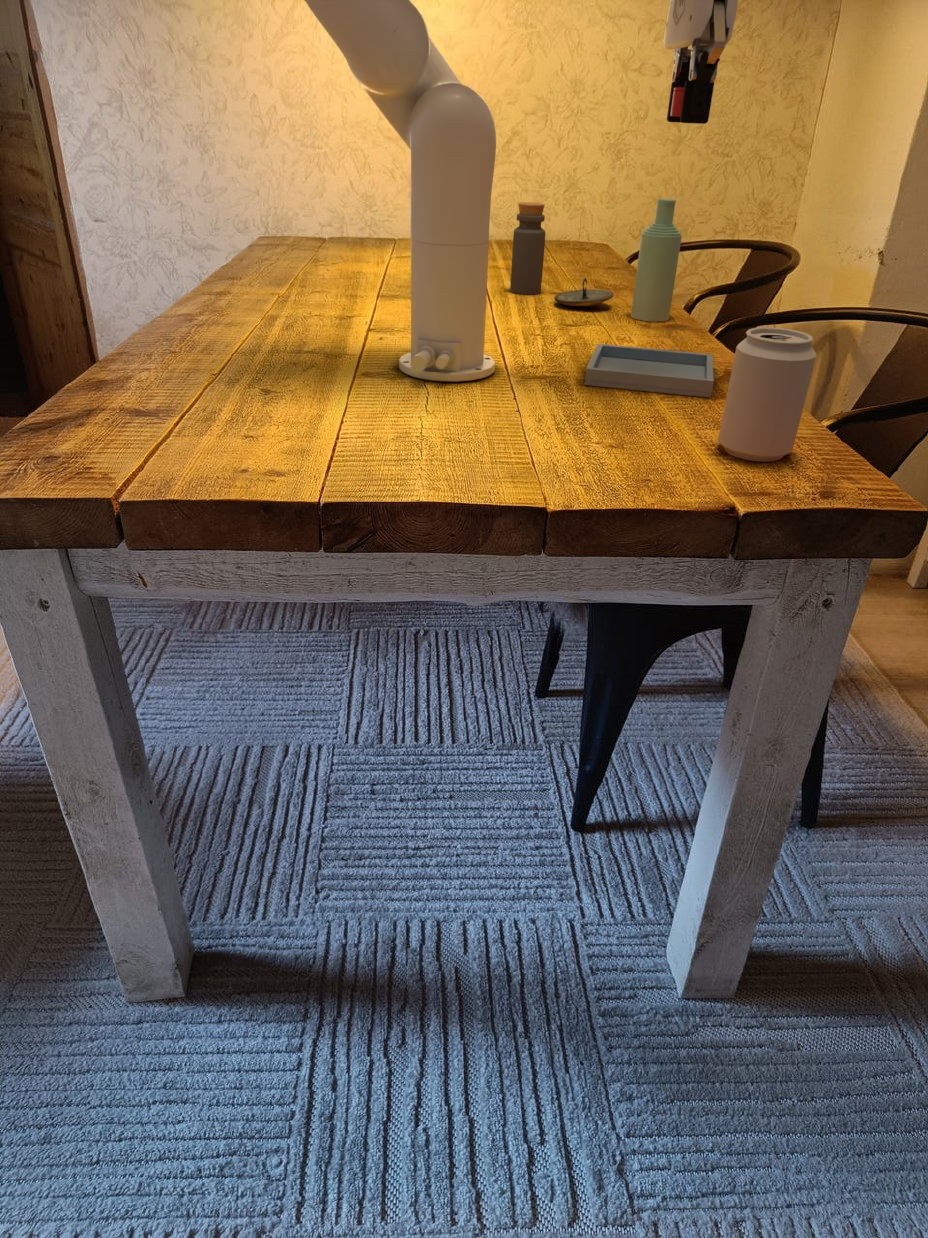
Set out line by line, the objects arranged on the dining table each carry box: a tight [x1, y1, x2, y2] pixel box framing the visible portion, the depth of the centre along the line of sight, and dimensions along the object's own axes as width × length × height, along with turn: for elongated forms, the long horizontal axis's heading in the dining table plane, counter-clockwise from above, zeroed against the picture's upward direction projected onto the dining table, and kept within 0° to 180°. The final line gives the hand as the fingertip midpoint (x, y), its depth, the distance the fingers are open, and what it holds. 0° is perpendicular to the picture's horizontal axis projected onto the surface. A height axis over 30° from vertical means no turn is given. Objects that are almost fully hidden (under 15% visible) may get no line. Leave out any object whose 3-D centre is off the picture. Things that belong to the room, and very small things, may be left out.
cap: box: [670, 87, 684, 116], centre depth 96 cm, size 4×4×3 cm
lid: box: [553, 277, 614, 308], centre depth 147 cm, size 11×10×5 cm
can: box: [717, 326, 818, 463], centre depth 83 cm, size 8×8×12 cm
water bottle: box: [630, 198, 683, 323], centre depth 137 cm, size 6×6×18 cm
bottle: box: [509, 201, 546, 296], centre depth 153 cm, size 6×6×15 cm
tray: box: [584, 343, 715, 399], centre depth 109 cm, size 14×16×2 cm
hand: (686, 120), depth 97 cm, fingers closed on cap, 4 cm apart
